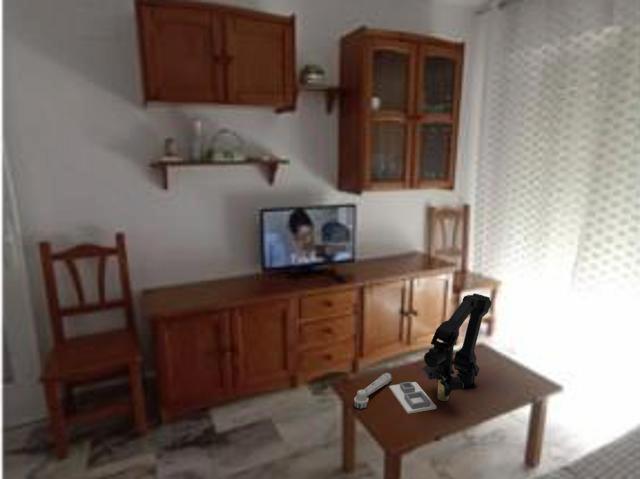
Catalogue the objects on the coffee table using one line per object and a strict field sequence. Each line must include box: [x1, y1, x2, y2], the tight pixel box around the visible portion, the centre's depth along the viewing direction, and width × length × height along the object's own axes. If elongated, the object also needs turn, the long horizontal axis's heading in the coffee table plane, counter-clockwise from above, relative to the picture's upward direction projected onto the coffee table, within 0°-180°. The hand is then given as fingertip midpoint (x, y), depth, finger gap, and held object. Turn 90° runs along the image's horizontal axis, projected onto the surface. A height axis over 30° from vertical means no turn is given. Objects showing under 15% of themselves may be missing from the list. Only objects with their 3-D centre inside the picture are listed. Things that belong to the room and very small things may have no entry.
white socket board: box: [388, 381, 437, 415], centre depth 178 cm, size 12×18×3 cm, turn 14°
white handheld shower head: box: [353, 372, 393, 409], centre depth 181 cm, size 5×7×25 cm
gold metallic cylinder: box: [437, 377, 450, 402], centre depth 174 cm, size 4×4×8 cm
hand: (443, 393), depth 175 cm, fingers closed on gold metallic cylinder, 4 cm apart
